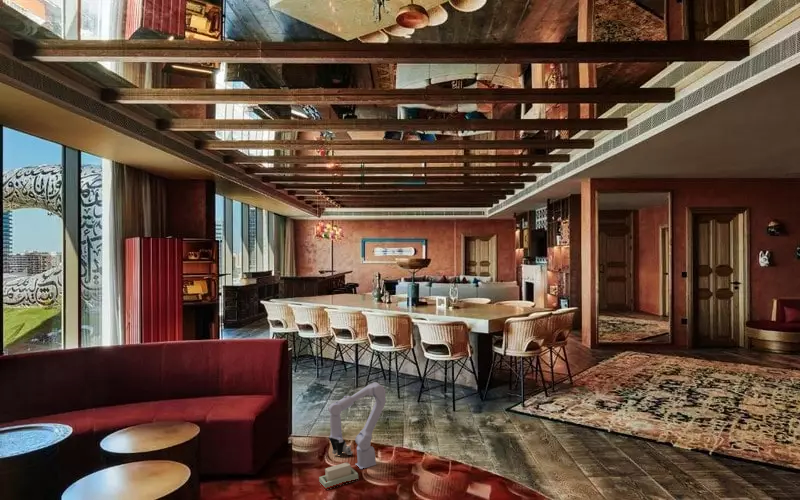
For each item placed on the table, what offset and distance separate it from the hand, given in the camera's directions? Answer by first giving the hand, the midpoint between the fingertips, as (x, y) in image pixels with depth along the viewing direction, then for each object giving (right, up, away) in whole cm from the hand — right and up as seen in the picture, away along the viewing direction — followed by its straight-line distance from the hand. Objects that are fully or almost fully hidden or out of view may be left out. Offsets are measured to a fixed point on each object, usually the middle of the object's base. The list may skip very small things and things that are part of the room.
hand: (337, 452), depth 229 cm
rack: (+2, -9, -12) cm, 15 cm away
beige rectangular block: (+2, -7, -12) cm, 14 cm away
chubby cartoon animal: (0, -12, +20) cm, 23 cm away
